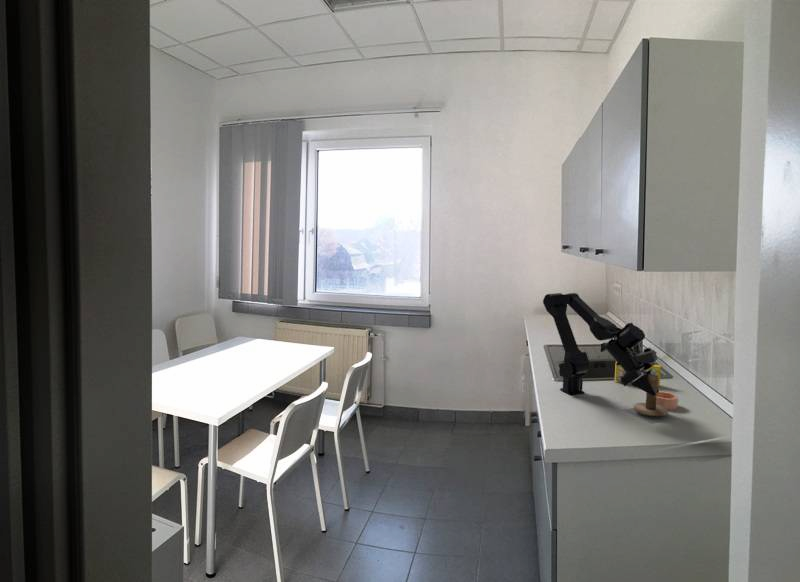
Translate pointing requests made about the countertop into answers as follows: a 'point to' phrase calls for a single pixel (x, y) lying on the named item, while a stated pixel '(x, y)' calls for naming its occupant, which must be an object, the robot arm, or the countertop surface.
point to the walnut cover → (651, 401)
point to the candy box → (620, 373)
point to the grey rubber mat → (651, 418)
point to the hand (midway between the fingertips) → (656, 393)
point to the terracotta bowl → (667, 400)
